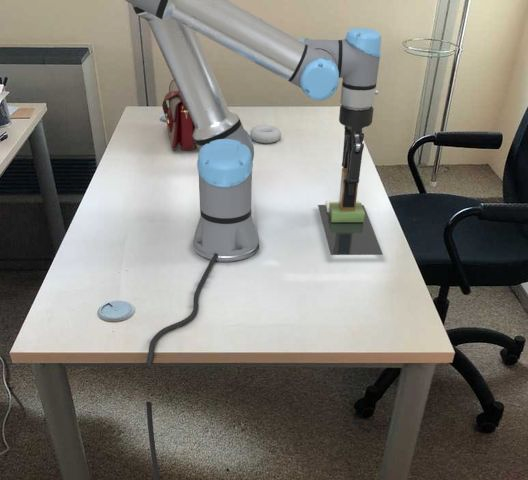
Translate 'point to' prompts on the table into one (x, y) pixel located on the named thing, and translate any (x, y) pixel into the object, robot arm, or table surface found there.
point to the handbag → (178, 120)
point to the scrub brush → (346, 213)
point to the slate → (350, 236)
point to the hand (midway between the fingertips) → (347, 202)
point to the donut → (265, 134)
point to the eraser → (328, 204)
